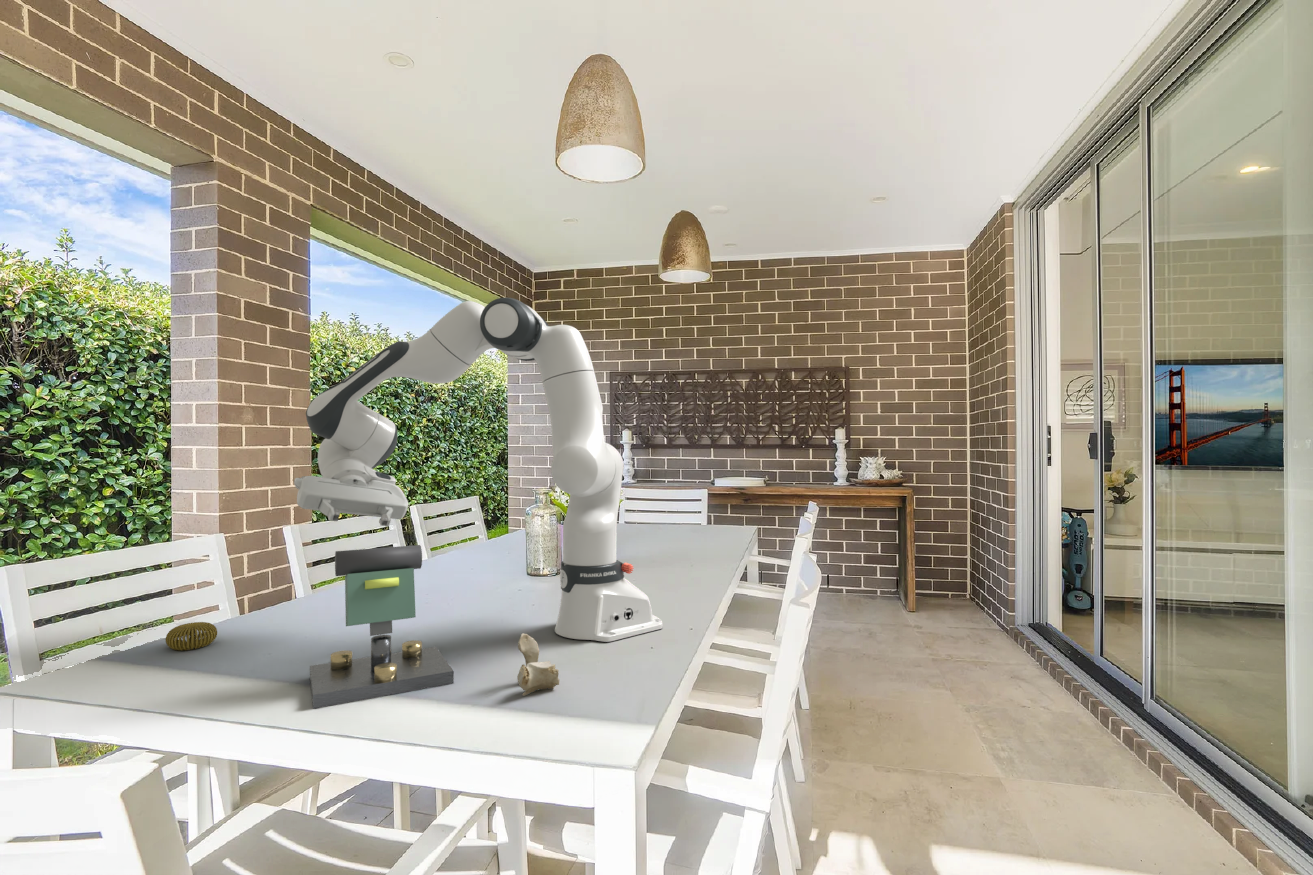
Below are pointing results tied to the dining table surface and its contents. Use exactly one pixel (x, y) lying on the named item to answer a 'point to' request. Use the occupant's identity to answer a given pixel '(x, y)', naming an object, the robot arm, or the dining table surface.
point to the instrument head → (379, 585)
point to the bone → (535, 668)
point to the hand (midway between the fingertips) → (360, 520)
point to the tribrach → (378, 673)
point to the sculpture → (191, 636)
